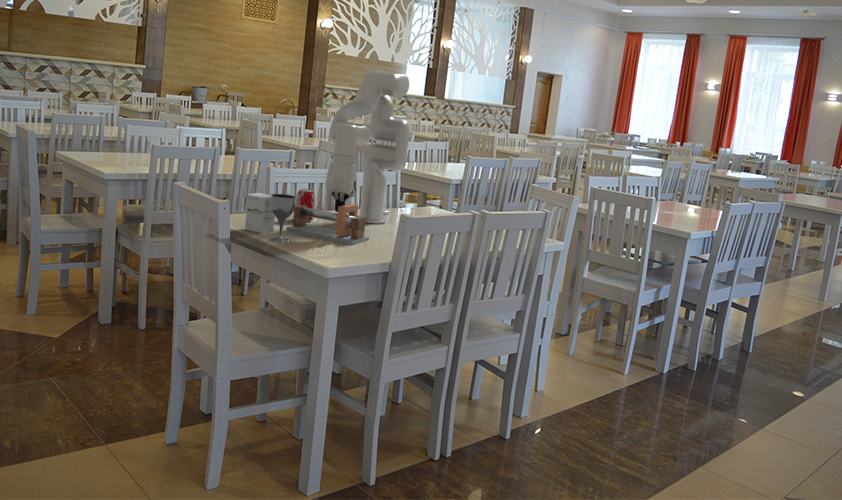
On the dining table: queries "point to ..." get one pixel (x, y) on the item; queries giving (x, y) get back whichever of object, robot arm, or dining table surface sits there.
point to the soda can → (306, 200)
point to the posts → (357, 223)
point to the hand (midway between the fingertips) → (339, 211)
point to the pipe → (324, 215)
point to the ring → (341, 219)
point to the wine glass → (282, 212)
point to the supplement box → (259, 213)
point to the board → (325, 234)
